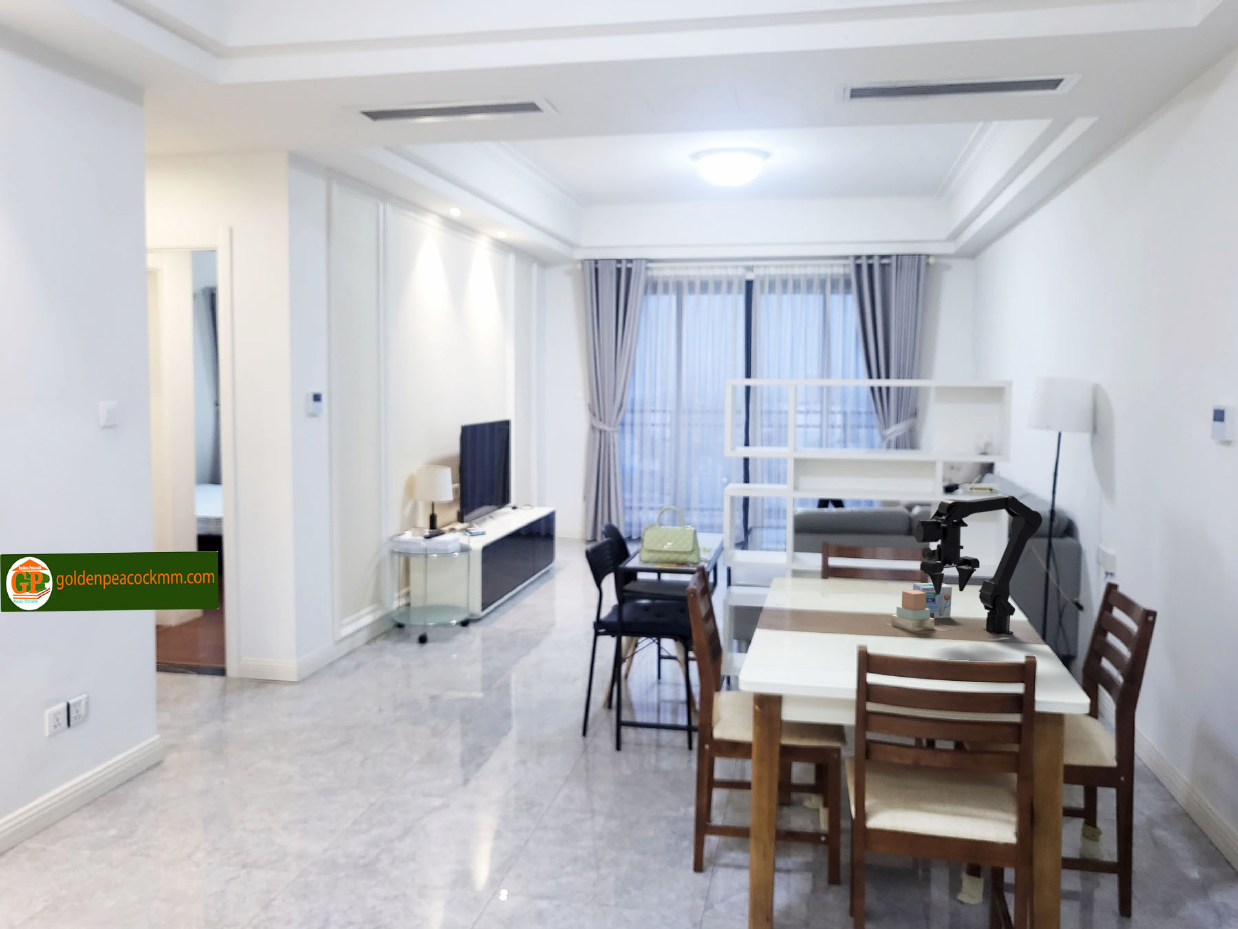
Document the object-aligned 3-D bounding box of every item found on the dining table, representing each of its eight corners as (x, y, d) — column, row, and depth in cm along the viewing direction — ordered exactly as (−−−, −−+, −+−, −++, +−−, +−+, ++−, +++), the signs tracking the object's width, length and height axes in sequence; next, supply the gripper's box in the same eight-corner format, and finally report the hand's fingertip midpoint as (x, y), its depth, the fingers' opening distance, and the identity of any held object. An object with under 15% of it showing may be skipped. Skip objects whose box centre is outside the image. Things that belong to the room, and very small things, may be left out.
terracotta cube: (914, 605, 301) (914, 589, 301) (925, 609, 297) (926, 593, 296) (901, 607, 299) (902, 591, 298) (913, 610, 294) (913, 594, 294)
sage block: (913, 613, 303) (914, 604, 302) (929, 618, 296) (930, 609, 296) (896, 615, 300) (896, 606, 299) (912, 620, 293) (912, 611, 293)
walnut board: (925, 620, 308) (925, 619, 308) (958, 631, 296) (958, 629, 296) (884, 625, 301) (884, 623, 301) (915, 636, 288) (915, 634, 288)
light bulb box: (920, 620, 309) (921, 587, 308) (910, 615, 316) (912, 582, 315) (951, 619, 311) (952, 586, 310) (941, 614, 317) (942, 582, 317)
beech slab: (913, 621, 304) (913, 612, 304) (934, 628, 296) (934, 618, 296) (891, 624, 300) (891, 615, 300) (911, 631, 292) (911, 621, 292)
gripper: (953, 535, 301) (953, 584, 302) (907, 540, 293) (906, 591, 294) (981, 540, 291) (980, 591, 292) (934, 545, 283) (933, 598, 284)
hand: (949, 592), depth 291 cm, fingers open, 9 cm apart
